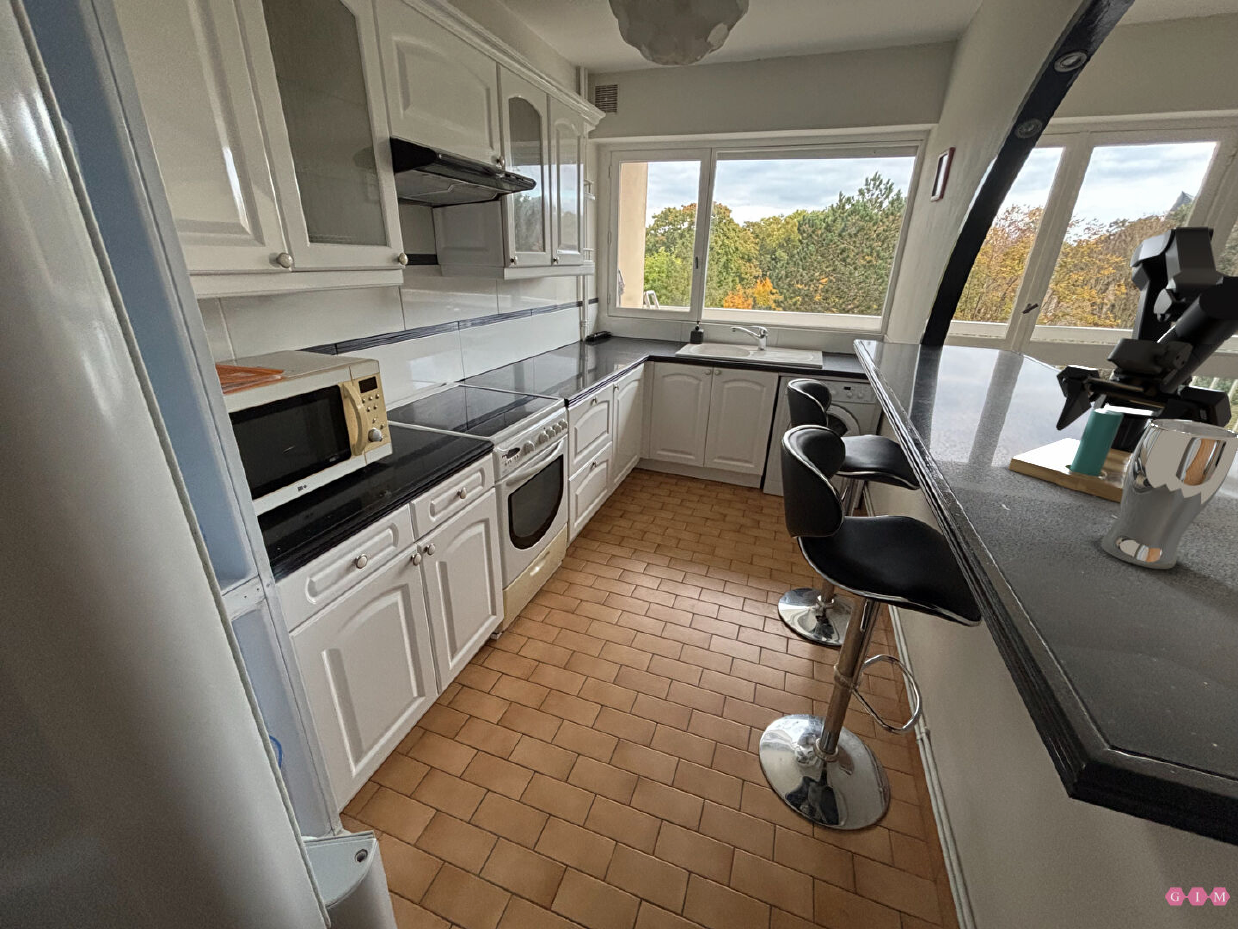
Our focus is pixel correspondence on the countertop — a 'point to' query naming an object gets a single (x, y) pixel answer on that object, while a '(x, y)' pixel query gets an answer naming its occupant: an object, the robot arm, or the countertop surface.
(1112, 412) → the peg
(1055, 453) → the board
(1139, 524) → the beer glass
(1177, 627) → the countertop surface
